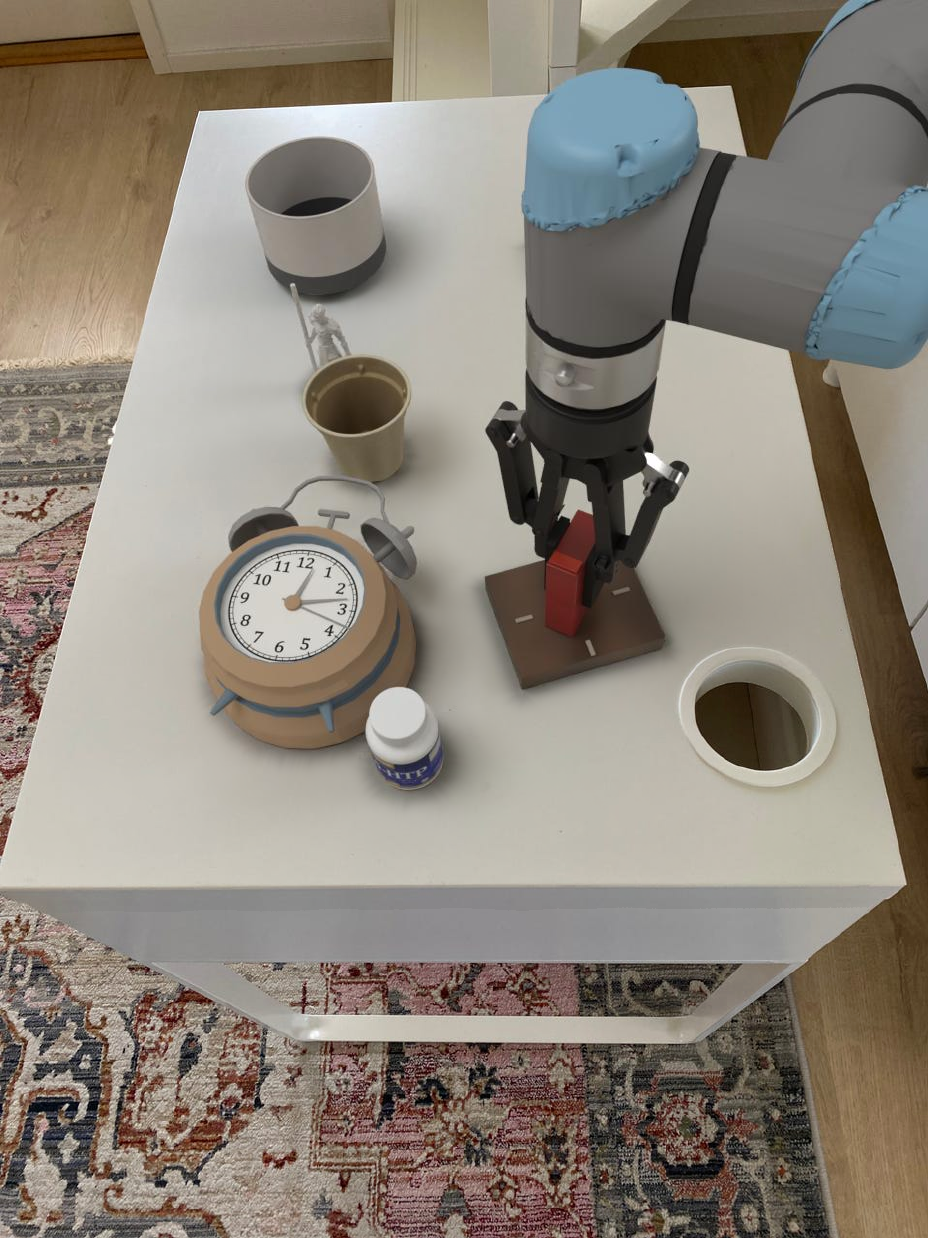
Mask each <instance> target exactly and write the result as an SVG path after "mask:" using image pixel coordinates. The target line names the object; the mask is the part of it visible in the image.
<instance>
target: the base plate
mask: <svg viewBox="0 0 928 1238" xmlns="http://www.w3.org/2000/svg"><path fill="white" fill-rule="evenodd" d="M544 573H545V559H541V560H538V561H535V562H532V563H527V564H523V565H521V566H520V565H519V566H517V567H513V568H509V569H506V570H503V571H499V572H496V573H492V574H489V575H485V576H484V586H485V587H484V588H485V592H486V594H487V597H488V600H489V602H490V606H491V608H492V611H493V615H494V617H495V619H496V623H497V625H498V627H499V630H500V634H501V636H502V639H503V641H504V644H505V647H506V650H507V653H508V655H509V658H510V661H511V664H512V667H513V669H514V672H515V674H516V677H517V680H518V683H519V686H520V688H521V690H524V689H529V688H531V687H534V686H540V685H542V684H545V683H548V682H552V681H555V680H559V679H562V678H567V677H569V676H572V675H576V674H579V673H582V672H583V673H584V672H586V671H590V670H594V669H596V668H599V667H604V666H607V665H609V664H613V663H617V662H620V661H623V660H627V659H630V658H634V657H637V656H641V655H644V654H647V653H648V654H649V653H651V652H655V651H658V650H662V649H663V648H664V644H665V640H666V635H665V632H664V630H663V628H662V626H661V624H660V622H659V620H658V618H657V615H656V612H655V611H654V609H653V606H652V604H651V601H650V599H649V597H648V596H647V593H646V591H645V588H644V587H643V584H642V582H641V580H640V578H639V576H638V575H637V572H636V570H635V568H629V567H627V566H625V565H624V564H623V563H622V561H621V560H620V567H619V569H618V570H617V572H616V574H615V576H614V578H613V580H612V581H611V582H610V583H606V582H605V583H604V585H603V587H602V589H601V591H600V593H599V594H598V596H597V598H596V600H595V602H594V604H593V606H592V608H591V609H590V608H588V610H587V612H586V613H585V615H584V617H583V619H582V621H581V623H580V625H579V626H578V628H577V630H576V632H575V634H574V636H573V637H570V636H568V635H566V634H563V633H561V632H559V631H556V630H554V629H551V628H549V627H547V626H545V593H546V590H544Z"/></svg>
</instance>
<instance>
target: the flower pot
mask: <svg viewBox="0 0 928 1238" xmlns="http://www.w3.org/2000/svg"><path fill="white" fill-rule="evenodd" d="M411 400H412V385H411V381H410V378H409V377H408V375H407V374H406V372H405V371H404V369H403V368H401V366H399V365H398V364H396V363H395V362H394V361H392V360H390V359H387V358H385V357H382V356H378V355H374V354H366V353H365V354H364V353H362V354H361V353H360V354H352V355H350V356H345V355H344V356H343V357H341V358H338V359H336V360H333V361H331V362H329V363H327V364H325V365H324V366H322V367H321V366H320V367H319V368H318V370H317V371H316V372H315V373H314V372H313V374H312V375H311V376H310V378H309V379H308V381H307V382H306V383H305V386H304V388H303V390H302V395H301V407H302V410H303V414H304V416H305V417H306V419H307V421H308V422H309V423H310V424H311V426H313V427H314V428H315V429H316V430H317V431H318V432H319V433H320V434H321V435H322V436H323V438H324V441H325V442H326V445H327V447H328V449H329V450H330V452H331V454H332V456H333V458H334V460H335V462H336V464H337V467H338V469H339V470H340V471H341V473H342V474H343V476H347V477H352V478H358V479H362V480H365V481H369V482H371V483H373V482H378V481H379V482H380V481H385V480H387V479H389V478H391V477H392V476H393V475H394V474H396V472H397V471H398V470H399V469H400V467H401V466H402V464H403V462H404V457H405V449H404V448H405V445H404V442H405V440H404V439H405V416H406V414H407V411H408V409H409V406H410V404H411Z"/></svg>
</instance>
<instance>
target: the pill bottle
mask: <svg viewBox="0 0 928 1238" xmlns="http://www.w3.org/2000/svg"><path fill="white" fill-rule="evenodd" d="M436 715H437V714H436V713H435V711H434V710H433V708H432V707H431V706H430V705H429V704H428V703H426V702H425V701H424V699H423V698H422V696H420V694H419V693H418V692H416V691H414V689H411V688H409V687H406V688H405V687H394V688H390V689H387V690H385V691H383V692H382V693H380V694H379V695H378V696H377V697H376V698H375V699H374V701H373V702H372V705H371V707H370V712H369V717H368V720H367V723H366V731H365V737H366V741H367V744H368V748H369V750H370V753H371V756H372V758H373V761H374V764H375V767H376V769H377V772H378V773H379V775H380V777H381V778H382V780H383V781H385V783H386V784H388V785H390V786H392V787H393V788H396V789H399V790H404V791H413V790H418V789H421V788H424V787H426V786H427V785H429V784H430V783H432V782H433V781H434V780H435V779H436V778H437V776H438V775H439V774H440V772H441V770H442V767H443V764H444V748H443V742H442V737H441V732H440V731H441V730H440V726H439V721H438V718H437V716H436Z"/></svg>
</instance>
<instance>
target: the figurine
mask: <svg viewBox="0 0 928 1238" xmlns="http://www.w3.org/2000/svg"><path fill="white" fill-rule="evenodd" d="M290 288H291V289H290V291H291V295H292V298H293V302H294V304H295V309H296V311H297V315H298V319H299V321H300V322H299V323H300V327H301V330H302V333H303V337H304V340H305V341H304V344H305V347H306V348H307V352H308V355H309V359H310V362H311V365H312V371H313V374H314V373H315V372H316V371H317V370H319V367H318V365H317V362H316V358H315V355H314V350H313V347H312V343H313V342H314V340H315V339H316V337H317V344H318V349H317V355H318V361H319V366H320V368H321V367H322V366H324V365H325V364H327V363H329V362H331V361H333V360H336V359H338V358H341V357H345V356H350V355H353V354H352V353H351V351H350V348H349V344H348V342H346V339H345V338H346V336H345V335H343V334H344V333H343V330H341V326H340V324H339V322H338V321H337V320H336V319H335V318H333V317H331V318H330V317H328V316H326V315H325V314H326V308H325V307H324V305H323V304H321V303H317V304H315V305H314V306H312V308H311V311H312V312H311V314H308V315H307V317H308V320H309V322H310V324H311V325H312V326H313V328H312V331H311V334H310V335H309V332H308V328H307V324H306V321H305V316H304V313H303V309H302V306H301V301H300V296H299V292H297V289H296V286H295V284H294V283H292V284H290ZM332 336H334V337H335V338H336V339H337V340H338V342H340V346H341V348H342V350H343V351H344V354H345V355H344V356H343V354H342V353H341V351H340V349H339V348H338V346H337V345H336V343H335V342H334V338H333V337H332Z"/></svg>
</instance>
